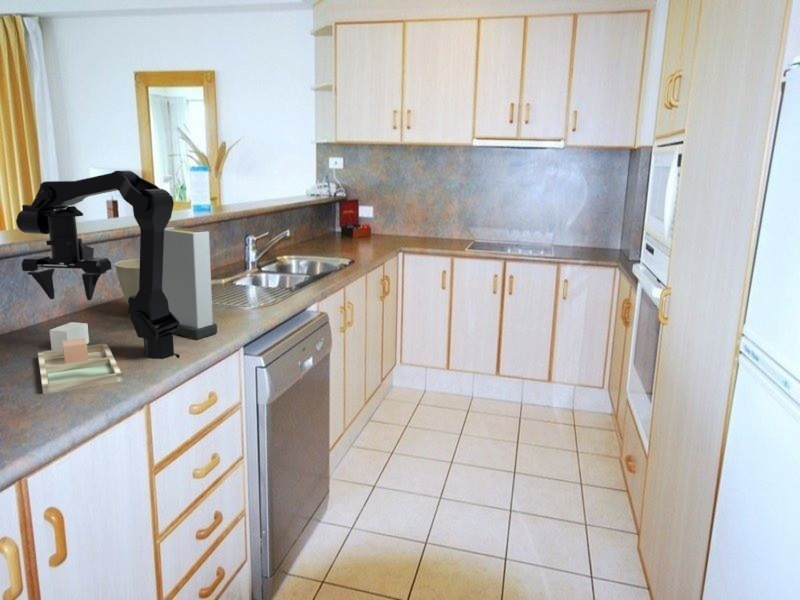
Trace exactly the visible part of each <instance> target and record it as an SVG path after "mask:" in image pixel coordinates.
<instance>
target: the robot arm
mask: <svg viewBox="0 0 800 600" xmlns="http://www.w3.org/2000/svg"><path fill="white" fill-rule="evenodd" d="M116 191H118V192H119V193H120V195H121V198H122V199H123V200H124V201H125V202H126V203H127V204H129V205H130V206H132V212H133V217H134V219H135V222H136V223H137V225H138V227H139V229H140V230H139V231H140V234H139V236H140V238H139V259H140V266H139V290H138V293H137V294H136V295H134V296H131V297H129V299H128V304H129V306H128V311H127V315H129V321H130V323H132V325H133V328H134V331H135V333H136V336H137V337H138V338H140V339H141V338H142V340H143V347H144V349H143V350H144V354H145V355H146V357H147V358H149V359H153V360H154V359H155V360H164V359H168V358H171V357H173V356H175V357H176V358H180V354H178V353H175V347H174V344H175V343H174V334H173V333H171V332H172V331H174V330H178V327H179V324H180V322H179V321H178V320H177V319H176V317H175V316H174V315H173V314H172V313H171V312H170V311H169V307H168V300H167V298H166V296H165V294H164V293H163V291H162V276H163V249H164V230H165V228H167V225H168V224H169V222H170V220H171V219H172V215H173V210H174V209H173V208H174V205H175V204H174V197H173V196H172V195H171V194H170V193H169V191H168V190H166V189H164V188H160V187H159V186H158V185H156V184H154V183H152V182H150V181H149V180H146V179H144V178H142V177H140V175H138V174H137V173H135V172H134V171H132V170H114V171H113V172H111V173H105V174H101V175H95V176H92V177H87V178H82V179H77V180H50V181H49V180H48V181H43V182H41V183H40V185H39V190H38V192H37V194H36V195H35V197H34V199H33V202H32V203H31V204H22V206H21V208H22V210H20V211H19V212H18V214H17V216H16V219H15V222H16V223H15V224H16V226H17V228H18V230H20V231H21V232H22V233H24V234H38V235H39V234H40V235H49V236H48V237H49V240H46V241H45V242H46V246H50V251H51V252H50V253H51V256H49V255H45V256H44V255H43V256H41V255H36V256H31V257H26V258H23V259H22V261H21V263H20V265H21V267H20V268H21V271H22V272H27V275H30V276H31V277H32V278H33V279H34V280H35V281H36V282H37V283H38V285H40V288H42V291H44V293H45V294H46V295H47V297H48V298H49V300H54V299H55V288H54V282H53V281H54V280H53V275H54V273H55V269H76V270H77V269H81V270H82V271H83V272H84V273H82V274H81V278H82V282H83V287H84V293H85V297H86V299H87V300H86V301H92V299H93V296H94V293H95V289H96V285H97V283H98V281H99V278H100V277H101V275H103V274H106V273H107V271H110V270H112V262H111V261H110V260H109V258H108V257H94V254H95V253H94V252H95V249H94V247H91V246H88V245H85V244H83V240H82V238H80V237H79V236H78V228H77V220H76V219H77V218H76V217H84V213H83V212H82V211H81V210H80V209H78V208H77V207H76V206H75V205H76V204H79V203H80V202H83V200H85V199H86V198H89V197H91V196H92V197H93V196H97V195H102V194H106V193H107V194H108V193H112V192H116ZM128 304H127V305H128Z"/></svg>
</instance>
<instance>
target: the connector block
mask: <svg viewBox="0 0 800 600" xmlns="http://www.w3.org/2000/svg"><path fill="white" fill-rule="evenodd" d="M49 337H50V338H49V339H50V347H51V350H57V349H63V346H62V341H66V340H74V339H83V338H85V340H86V343H87V344H89V343H90V337H89V327H88V323H83V322H72V321H70V322H68V323H65V324H63V325H62V324H61V325H59V326H57V327H54V328H51V329H49Z"/></svg>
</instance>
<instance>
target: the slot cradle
mask: <svg viewBox="0 0 800 600" xmlns="http://www.w3.org/2000/svg"><path fill="white" fill-rule="evenodd" d="M87 350H88V360H87V361H80V362H73V363H66V364H65V362H64V356H63V349H57V350H52V349H51V350H43V351H37V357H38V365H39V372H40V380H41V389H42V394H43V395H44V394H52V393H57V392H63V391H64V392H65V391H70V390H76V389H83V388H88V387H95V386H100V385H105V384H112V383H117V382H118V383H119V382H123V374H122V371H121V370H120V369H121V368H120V367H119V365H118V364H117V360H115V356H114V355H113V353H112V351H111V349H110V347H109V345H108V343H107V342H106V343H105V342H104V343H98V344H90V345H87Z"/></svg>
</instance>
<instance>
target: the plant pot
mask: <svg viewBox="0 0 800 600" xmlns="http://www.w3.org/2000/svg"><path fill="white" fill-rule="evenodd" d="M139 266H140V258H132V259H124V260H120V261H117V262H115V263H114V267H115V270H116V275H117V279H118V282H119V285H120V288H121V292H122V294H123V297H124V298H125V302H126V304H127V306H128V307H129V304H128V299H129V297H131V296H134V295H136V294H137V293H138V290H139Z"/></svg>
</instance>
